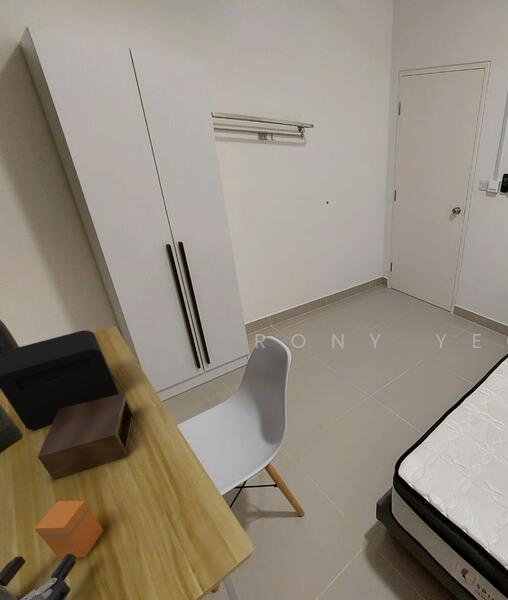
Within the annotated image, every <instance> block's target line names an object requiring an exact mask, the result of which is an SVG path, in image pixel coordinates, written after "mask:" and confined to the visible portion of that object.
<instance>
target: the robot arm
mask: <svg viewBox="0 0 508 600" xmlns="http://www.w3.org/2000/svg"><path fill="white" fill-rule="evenodd" d="M25 563H26V559H24V557H23V556H21V555H20V556H15V557H14V558H13V559H12V560H10V561H9V562H8V563H7V564H5V566H4V567H3V568H2V569H1V570H0V585H2V586H3V587H7V586H8V585H9V584H10V582H11V581H12V580H13V579H14V578H15V576H16V575H17V574H18V572H19V571H20V570H21V569H22V567H24V565H25ZM76 563H77V557H75V556H74V555H73V554H67V555H66V556H65V557H64V558H62V560H61V562H60V563H59V564H58V566H57V568H56V569H55V570H54V571H53V572H52V574H51V575H50V579H48V581H46V582H45V583H44V584H42V585H41V586H40V587H38V588H36V589H32V590H31V591H30V592H28V593H27V594H26V595H16V596H15V597H16V598H17V600H65V599H66V598H67V596H68V595H69V594H70V592H71V587H70V586H69V585H68V584H67V582H65V580H66V579H67V577H68V575H70V573H71V571H72V570H73V568H74V567H75V565H76Z"/></svg>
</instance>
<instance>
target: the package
mask: <svg viewBox="0 0 508 600" xmlns="http://www.w3.org/2000/svg"><path fill="white" fill-rule="evenodd" d="M34 530H35V531H36V533H37V534H38V535H39V537H40V538H41V539H42V540H43V542H44V543H45V544H46V545H47V546H48V547H49V549H50V550H51V551H52V552H53V554H54V555H55V556H56V557H57V558H58V559H64V557H65V556H66V555H67V554H73V555H74V556H75V557H76V558H87V556H88V554H89V553H90V551H91V550H92V548H93V547H94V545H95V544H96V542H97V540H98V539H99V538H100V536H101V535H102V533H103V532H104V529H103V527H102V525H101V523H100V522H99V521H98V519H97V518H96V516H95V514H94V513H93V511H92V510H91V508H90V507H89V505H88V503H87V502H86V500H61V501H60V500H59V501H56V502H55V504H53V506H52V507H51V508H50V510H48V512H47V513H46V514H45V515H44V517H43V518H42V519H41V520H40V521H39V523H38V524H37V525H36V526H35V527H34Z"/></svg>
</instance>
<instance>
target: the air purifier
mask: <svg viewBox="0 0 508 600" xmlns="http://www.w3.org/2000/svg"><path fill="white" fill-rule="evenodd" d="M0 391H1V392H2V394H3V396H4V397H5V398H6V400H7V402H8V403H9V404H10V406H11V407H12V409H13V411H14V412H15V413H16V415H17V416H18V418H19V419H20V421H21V422H22V424H23V425H24V427H25V428H26V429H27V430H28V431H29V430H30V431H38V430H41V429H43V428H46V427H49V426H52V423H53V421H54V419H55V417H56V414H57V412H58V410H59V409H61V408H65V407H69V406H73V405H77V404H81V403H85V402H89V401H94V400H98V399H102V398H106V397H110V396H114V395H118V394H120V393H119V390H118V387H117V385H116V382H115V379H114V375H113V374H112V371H111V368H110V367H109V364H108V363H107V359H106V357H105V355H104V353H103V351H102V348H101V346H100V343H99V342H98V339H97V337H96V334H95V333H94V332H92V331H91V330H87V329H85V330H83V329H82V330H80V331H75V332H71V333H68V334H64V335H60V336H56V337H53V338H48V339H44V340H41V341H37V342H34V343H29V344H25V345H22V346H19V347H14V348H10V349H7V350H5V351H3V352H1V353H0Z"/></svg>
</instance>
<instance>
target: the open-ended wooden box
mask: <svg viewBox="0 0 508 600" xmlns="http://www.w3.org/2000/svg"><path fill="white" fill-rule="evenodd" d="M133 419H135V413H134V411H133V408H132V406H131V404H130V402H129V399H128V397H127V394H126V393H125V392H122V393H119V394H118V395H114V396H110V397H106V398H102V399H98V400H94V401H89V402H85V403H81V404H77V405H73V406H69V407H65V408H61V409H59V410H58V412H57V414H56V417H55V419H54V421H53V423H52V424H51V425H50V428H49V430H48V432H47V435H46V437H45V438H44V442H43V443H42V446H41V447H40V450H39V453H38V455H37V458H38V459H39V461H40V462H41V464H42V466H43V467H44V468H45V470H46V471H47V473H48V474H49V476H50V477H51V479H52V480H53V481H56V480H59V479H62V478H65V477H68V476H72V475H75V474H78V473H82V472H85V471H88V470H91V469H94V468H97V467H100V466H103V465H107V464H110V463H113V462H116V461H119V460H122V459H126V458H127V456H128V451H127V450H128V446H129V441H130V435H131V432H132V431H131V429H132V425H133V421H134V420H133ZM122 422H125V424H124V430H123V434H122V439H121V437H120V435H119V432H120V427H121V423H122Z"/></svg>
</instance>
